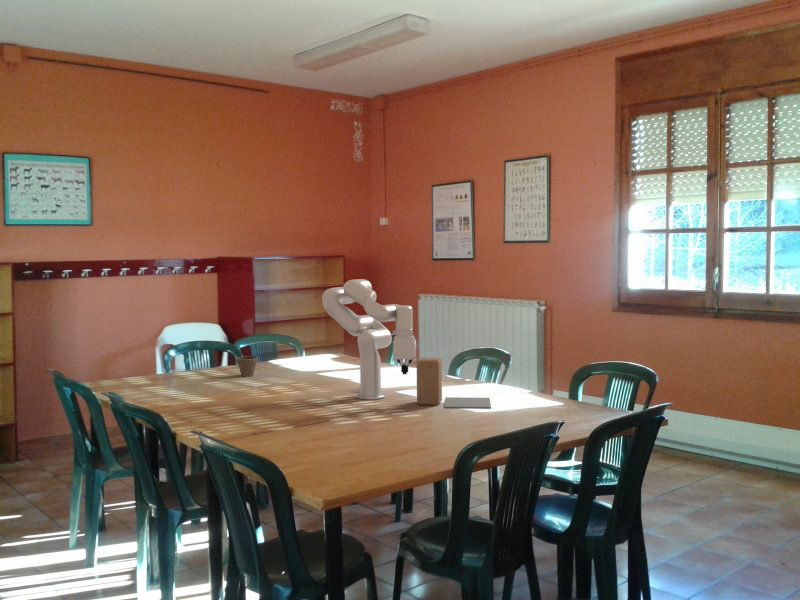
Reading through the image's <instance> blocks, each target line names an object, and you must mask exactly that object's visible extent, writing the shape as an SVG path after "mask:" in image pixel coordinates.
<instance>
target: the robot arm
mask: <svg viewBox="0 0 800 600" xmlns="http://www.w3.org/2000/svg"><path fill="white" fill-rule="evenodd" d="M321 298H322V299H321V303H322V307H323V308H324V311H326V313H327V314H328V315H329V316H330V317H331V318H332V319H334V320H335V321H336V322H337V324H339V325H340V326H341V327H342V328H343V329H344V330H345V331H347V332H348V333H349V335H351V336H353V337H357V347H358V351H359V368H360V369H359V371H360V373H359V374H360V375H359V376H360V386H359V387H358V388H355V387H353V388H352V387H351V389H350V392H351V393H353V394H357V395H356V397H357V399H360V400H379V399H383V398H385V394H384V393H382V381H381V380H382V377H381V375H382V374H381V373H382V371H381V355H380V353H379V351H378V350H379V349H385V348H387V347H389V346H390V345H391V344H392V362H397V363H398V364H399V365H400V366H401V367H400V368H401V369H400V372H401V373H402V375H407V374H408V373H409V365H410V364H411V363H414V362H417V360H418V359H417V350H416V349H417V347H416V338H415V336H414V332H413V331H414V330H413V329H414V327H413V326H414V325H413V324H414V323H413V320H414V319H413V318H414V317H413V314H414V313H413V307H412V306H411V305H407V304H406V305H401V304H397V303H396V304H395V303H391V304H383V305H382V304H381V303H378V302H376V301H377V293H376V291H375V290H373V287H372V284H371V283H370V281H369V280H368V279H365V278H359V279H357V278H356V279H350V280H347V281H346V282H345V283H344V284H343V286H339V287H336V286H335V287H330V288H328V289H325V290H324V292H323V293H322V296H321ZM355 302H356V303H357V304H360V305H361V306H363V308H364V311H365V313H366V314H364V315H363V314H362V315H358V314H356V313H355V312H354V311H353V310H351V308H349V307H347V306H346V305H348V304H353V303H355ZM387 322H395V330H392V334H393V335H395V336H394V337H393V338H392V334H391V332H390V331H389V329H388V328H387V327H385V326H384V325H383V323H387ZM392 342H393V343H392ZM404 360H405V361H404ZM404 362H405V363H404Z"/></svg>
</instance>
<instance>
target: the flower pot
mask: <svg viewBox="0 0 800 600" xmlns="http://www.w3.org/2000/svg"><path fill="white" fill-rule="evenodd" d="M258 360H259V359H258V356H255V355H245V356H239V357H236V363H237V364H238V368H239V373H240V375H241V377H243V378H244V377H248V378H249V377H253V376H254V375H255V370H256V366H257V363H258Z"/></svg>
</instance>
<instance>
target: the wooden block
mask: <svg viewBox="0 0 800 600" xmlns="http://www.w3.org/2000/svg"><path fill="white" fill-rule="evenodd" d="M442 360H443V359H442V358H441V357H423V356H422V357H419V358H418V359H417V360H416V403H417V405H418V406H419V405H420V406H424V405H425V406H439V405H440V403H441V402H442V400H443V381H442V380H443V371H442V370H443V368H442V365H443V364H442V363H443V361H442Z"/></svg>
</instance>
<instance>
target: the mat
mask: <svg viewBox="0 0 800 600" xmlns="http://www.w3.org/2000/svg"><path fill="white" fill-rule="evenodd" d="M444 400H445V401H444V409H492V405H491V398H490V397H451V396H450V397H445V399H444Z"/></svg>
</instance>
